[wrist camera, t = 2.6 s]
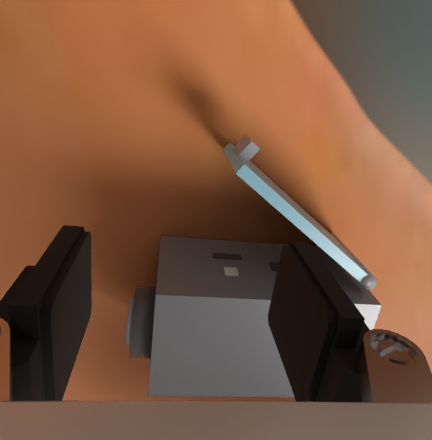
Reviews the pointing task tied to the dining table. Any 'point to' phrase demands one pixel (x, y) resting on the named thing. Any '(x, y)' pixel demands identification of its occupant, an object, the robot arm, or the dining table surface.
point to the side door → (294, 211)
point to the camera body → (218, 318)
